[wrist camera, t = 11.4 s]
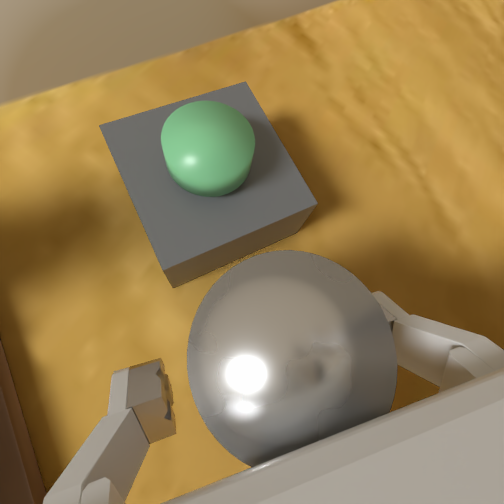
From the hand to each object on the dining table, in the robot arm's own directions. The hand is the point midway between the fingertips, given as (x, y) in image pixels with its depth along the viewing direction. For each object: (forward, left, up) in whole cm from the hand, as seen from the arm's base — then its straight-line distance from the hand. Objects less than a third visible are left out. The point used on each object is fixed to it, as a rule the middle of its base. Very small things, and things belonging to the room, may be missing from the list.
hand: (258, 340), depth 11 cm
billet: (0, +1, -6) cm, 6 cm away
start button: (-2, -8, -5) cm, 10 cm away
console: (-2, -8, -6) cm, 10 cm away
